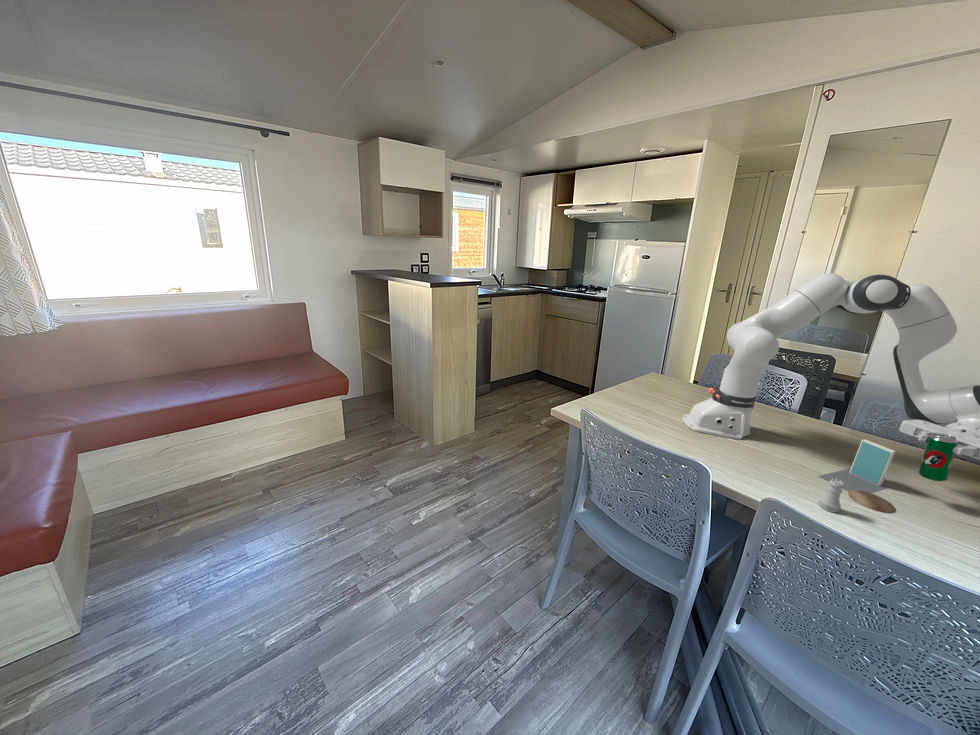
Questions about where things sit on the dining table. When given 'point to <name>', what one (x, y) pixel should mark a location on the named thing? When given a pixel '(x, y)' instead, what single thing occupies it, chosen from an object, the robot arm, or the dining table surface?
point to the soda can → (938, 457)
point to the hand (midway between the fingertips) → (938, 444)
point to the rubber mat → (853, 481)
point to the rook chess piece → (832, 496)
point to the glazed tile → (872, 462)
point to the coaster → (871, 501)
